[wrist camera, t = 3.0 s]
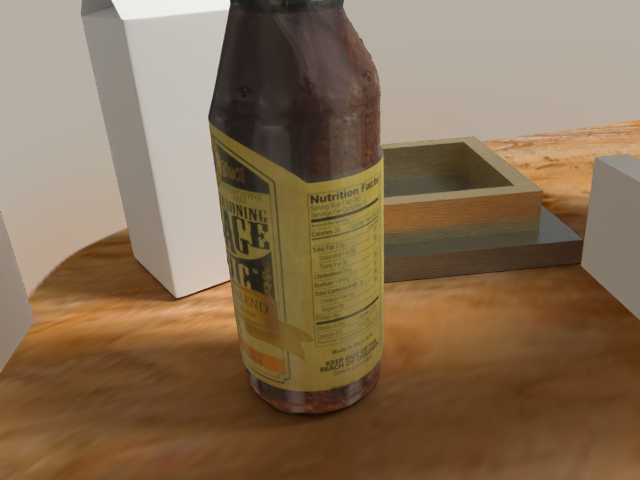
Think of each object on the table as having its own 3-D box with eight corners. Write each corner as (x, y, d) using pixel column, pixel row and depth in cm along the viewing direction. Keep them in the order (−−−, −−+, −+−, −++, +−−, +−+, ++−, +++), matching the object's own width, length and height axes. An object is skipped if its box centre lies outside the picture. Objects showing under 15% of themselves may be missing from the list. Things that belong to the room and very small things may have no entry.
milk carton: (283, 263, 37) (248, -83, 29) (176, 302, 33) (102, -80, 25) (231, 229, 42) (189, -70, 34) (134, 260, 39) (62, -66, 31)
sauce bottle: (238, 350, 29) (167, -129, 20) (362, 327, 30) (343, -137, 21) (256, 445, 23) (167, -173, 15) (409, 412, 24) (408, -179, 16)
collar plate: (486, 176, 49) (489, 128, 47) (580, 263, 34) (588, 198, 33) (293, 194, 48) (289, 146, 46) (305, 290, 34) (299, 225, 32)
